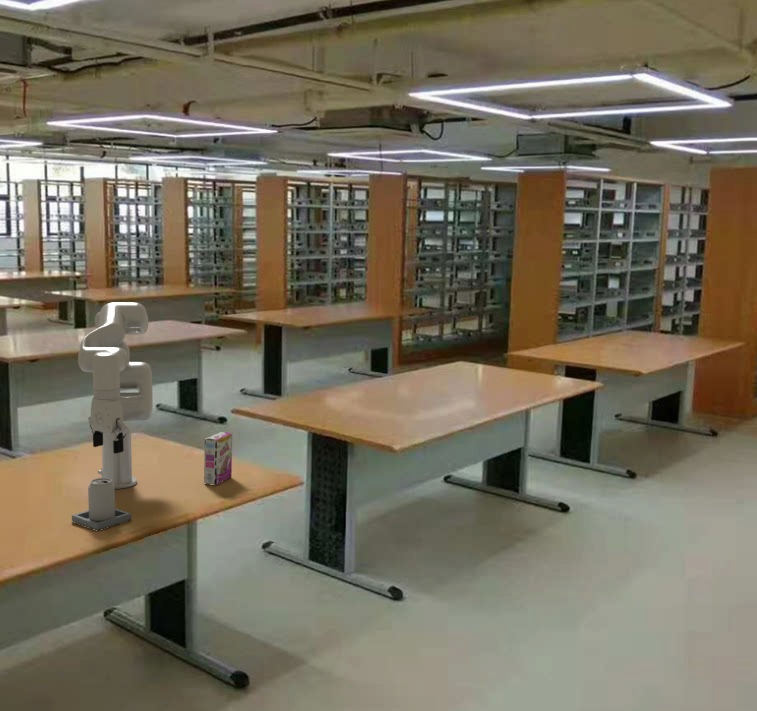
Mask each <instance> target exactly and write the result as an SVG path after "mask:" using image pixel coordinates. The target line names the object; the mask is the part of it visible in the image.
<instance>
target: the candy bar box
mask: <svg viewBox="0 0 757 711" xmlns="http://www.w3.org/2000/svg"><path fill="white" fill-rule="evenodd" d="M232 453H233V433H231V432H223V431H220V432H217V433H215V434H213V435H210V436H208V437H206V438H204V464H203V465H204V468H203V469H204V470H203V471H204V473H203V476H204V477H203V478H204V479H203V480H204V483H206V484H213V485H216V486H218V485H220V484H222V483H223V482H222V481H224V480H226V479H228V478H230V477H231V478H232V469H233V468H232V466H233V465H232V464H233V460H232V459H233V454H232ZM231 478H230V479H231ZM228 480H229V479H228ZM226 481H227V480H226ZM221 482H222V483H221ZM224 482H225V481H224ZM204 483H203V484H204ZM219 483H220V484H219ZM206 484H205V485H206ZM217 484H218V485H217Z"/></svg>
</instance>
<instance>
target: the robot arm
mask: <svg viewBox="0 0 757 711" xmlns="http://www.w3.org/2000/svg"><path fill="white" fill-rule="evenodd" d="M94 323H95V329H94V330H92V331H91V332H89V333H87V334H86V335H85V336H84V337H83V338H82V339H81V341H80V345H79V351H78V354H77V355H78V356H77V362H78V364H77V365H78V367H79V368H80V370H81V371H82V372H85V373H92V385H93V386H92V390H93V392H92V393H93V397H92V398H91V399H92V400H91V404H90V406H91V407H90V416H89V417H88V422H89V428H90V429H91V432H90V433H91V434H92V446H93V447H94V448H98V447H101V453H102V454H101V455H102V460H101V461H102V462H101V463H102V467H101V469H99V470H97V474H98V475H101V478H109V479H111V480H112V483H113V484H114V488H115V490H116V489H117V490H118V489H120V490H121V489H126V488H130V487H132V486H134V485H136V484H137V481H138V480H137V478H136V477H135V476H133V468H132V463H133V462H132V460H133V459H132V456H133V455H132V433H131V430H130V428H129V426H128V425H126V424H125V423H124V422H127V421H128V422H131V421H147V420H149V419H150V418H151V417H152V415H153V372H152V368H151V366H150V364H149V363H147V362H144V361H130V356H131V355H130V353H131V352H130V351H131V350H130V347H129V345H128V344H127V343H126V341H125V337H126V336H127V335H133V336H134V335H136V336H137V335H140V336H141V335H144V334H146V333H147V331H148V329H149V315H148V312H147V310H146V308H145V306H144V305H143V304H142V303H139V302H118V301H117V302H109V303H106V304H104V305H103V306H102V307H101V309H100V311H98V312H97V313H96V314H95V317H94ZM123 390H124V391H126V392H121V391H123ZM127 390H128V391H131V390H136V391H137V392H136V391H135V392H127Z"/></svg>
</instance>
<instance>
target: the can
mask: <svg viewBox="0 0 757 711" xmlns="http://www.w3.org/2000/svg"><path fill="white" fill-rule="evenodd" d="M87 491H88V492H87V493H88V497H87V498H88V499H87V500H88V510H89V518H90V519H91V520H92V521H95V522H102V521H105V520H108V519H111V518H113V517H114V516H115V508H116V500H115V499H116V494H115V491H116V489H115V488H114V484H113V483H112V480H111V479H109V478H102V477H99V478H94V479H92V480H90V481H89V484H88V486H87Z"/></svg>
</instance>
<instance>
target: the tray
mask: <svg viewBox="0 0 757 711" xmlns="http://www.w3.org/2000/svg"><path fill="white" fill-rule="evenodd" d="M129 520H131V521H132V512H128V511H125V510H122V509H120V508H116V507H115V516H114V517H113V518H111V519H108V520H105V521H102V522H95V521H92V520H91V519H90V518H89V509H87V510H85V511H82V512H79V513H75V514H72V515H71V522H72V521H73V522H75V523H78V524H80V525H83V526H86V527H89V528H91V529H95V530H97V531H98V530H101V529H104V528H107V527H110V526H113V525H116V526H118V525H117V524H119V525H121V524H120V523H122V524H124V523H123V522H125V523H127V522H126V521H128V522H130V521H129ZM75 523H74V524H75ZM78 524H77V525H78ZM80 525H79V526H80ZM83 526H82V527H83ZM86 527H85V528H86ZM113 527H114V526H113ZM89 528H88V529H89ZM110 528H111V527H110ZM91 529H90V530H91ZM107 529H108V528H107ZM104 530H105V529H104ZM97 531H96V532H97ZM101 531H102V530H101ZM98 532H99V531H98Z"/></svg>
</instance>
